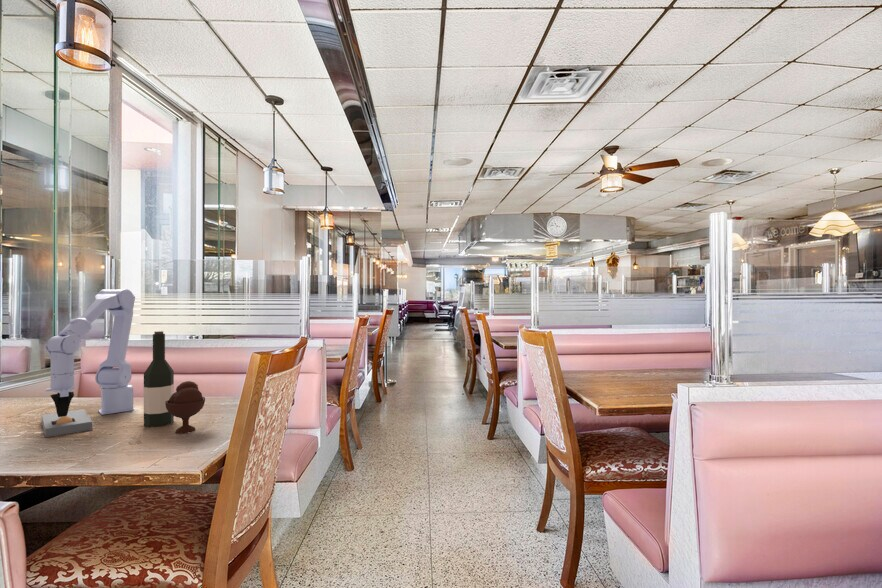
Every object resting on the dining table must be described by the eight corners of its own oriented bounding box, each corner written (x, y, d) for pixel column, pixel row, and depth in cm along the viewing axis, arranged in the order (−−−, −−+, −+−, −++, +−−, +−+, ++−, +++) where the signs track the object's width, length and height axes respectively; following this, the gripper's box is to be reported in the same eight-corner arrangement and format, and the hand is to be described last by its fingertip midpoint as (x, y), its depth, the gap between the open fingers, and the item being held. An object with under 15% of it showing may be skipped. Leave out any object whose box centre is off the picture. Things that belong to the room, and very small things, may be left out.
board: (84, 416, 156) (84, 409, 156) (92, 429, 140) (92, 421, 140) (41, 422, 148) (41, 414, 148) (45, 437, 132) (45, 428, 132)
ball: (71, 431, 141) (70, 424, 144) (74, 420, 140) (73, 413, 143) (54, 432, 138) (53, 424, 141) (58, 421, 137) (57, 413, 140)
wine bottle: (145, 429, 140) (145, 332, 141) (142, 423, 147) (142, 331, 147) (175, 424, 146) (175, 331, 146) (171, 418, 152) (171, 330, 152)
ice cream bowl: (159, 431, 138) (159, 382, 138) (198, 423, 146) (198, 377, 146) (170, 438, 131) (170, 387, 131) (211, 430, 139) (211, 381, 139)
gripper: (44, 372, 146) (44, 414, 146) (47, 377, 135) (47, 423, 135) (72, 369, 151) (72, 410, 151) (77, 375, 140) (77, 418, 140)
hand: (62, 416), depth 143 cm, fingers closed
